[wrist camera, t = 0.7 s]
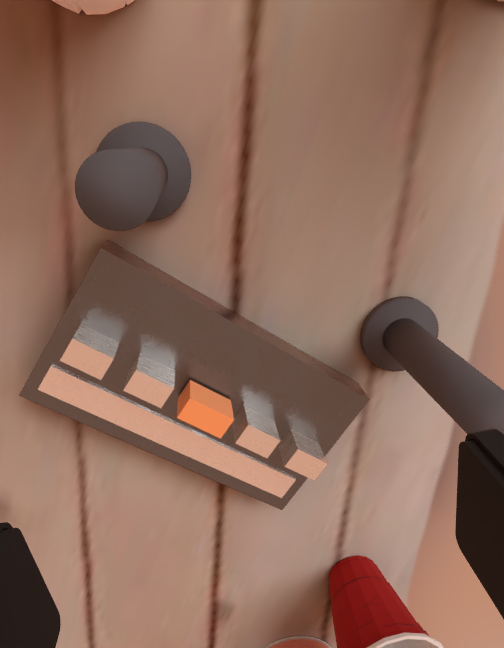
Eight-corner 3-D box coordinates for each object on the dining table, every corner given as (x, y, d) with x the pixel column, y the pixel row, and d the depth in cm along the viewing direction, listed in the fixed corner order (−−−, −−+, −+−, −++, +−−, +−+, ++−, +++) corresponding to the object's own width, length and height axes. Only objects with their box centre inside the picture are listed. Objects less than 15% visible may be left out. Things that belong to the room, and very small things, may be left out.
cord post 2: (437, 294, 42) (561, 369, 28) (427, 364, 44) (536, 463, 31) (363, 298, 41) (452, 377, 27) (357, 369, 44) (437, 473, 30)
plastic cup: (415, 571, 55) (473, 679, 44) (341, 619, 56) (379, 736, 45) (367, 520, 51) (417, 625, 40) (289, 574, 52) (317, 690, 41)
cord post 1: (187, 122, 34) (188, 107, 20) (193, 218, 37) (197, 263, 23) (90, 122, 33) (20, 107, 19) (102, 220, 36) (49, 269, 22)
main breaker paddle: (189, 379, 38) (190, 398, 35) (230, 400, 39) (234, 419, 36) (177, 398, 39) (176, 418, 36) (218, 418, 40) (220, 438, 37)
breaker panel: (107, 239, 36) (93, 257, 31) (358, 383, 44) (382, 417, 39) (30, 377, 40) (5, 415, 34) (276, 488, 48) (288, 534, 42)
